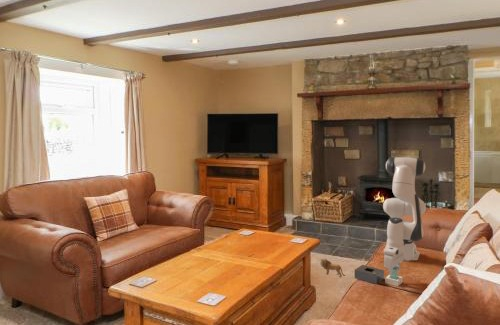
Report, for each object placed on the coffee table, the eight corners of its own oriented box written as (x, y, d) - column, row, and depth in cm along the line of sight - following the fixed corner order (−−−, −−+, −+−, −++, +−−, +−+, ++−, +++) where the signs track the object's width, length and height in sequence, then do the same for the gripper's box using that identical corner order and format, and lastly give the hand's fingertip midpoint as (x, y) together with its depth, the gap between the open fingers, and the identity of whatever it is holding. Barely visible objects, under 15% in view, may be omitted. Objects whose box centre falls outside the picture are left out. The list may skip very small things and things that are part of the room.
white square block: (390, 279, 222) (390, 274, 221) (402, 282, 217) (402, 277, 217) (385, 283, 216) (385, 277, 216) (397, 286, 212) (398, 281, 212)
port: (362, 273, 231) (362, 264, 230) (383, 278, 223) (384, 269, 222) (354, 278, 223) (354, 269, 223) (376, 284, 215) (376, 274, 214)
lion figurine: (319, 274, 229) (319, 259, 228) (321, 271, 234) (321, 256, 233) (344, 278, 224) (344, 263, 223) (346, 275, 228) (346, 260, 227)
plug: (392, 281, 219) (392, 265, 218) (397, 282, 217) (398, 266, 216) (390, 282, 217) (390, 267, 216) (395, 284, 215) (396, 268, 214)
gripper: (396, 242, 224) (395, 265, 226) (382, 251, 209) (381, 276, 210) (407, 244, 220) (406, 268, 222) (393, 253, 205) (393, 279, 206)
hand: (394, 272), depth 216 cm, fingers open, 8 cm apart
